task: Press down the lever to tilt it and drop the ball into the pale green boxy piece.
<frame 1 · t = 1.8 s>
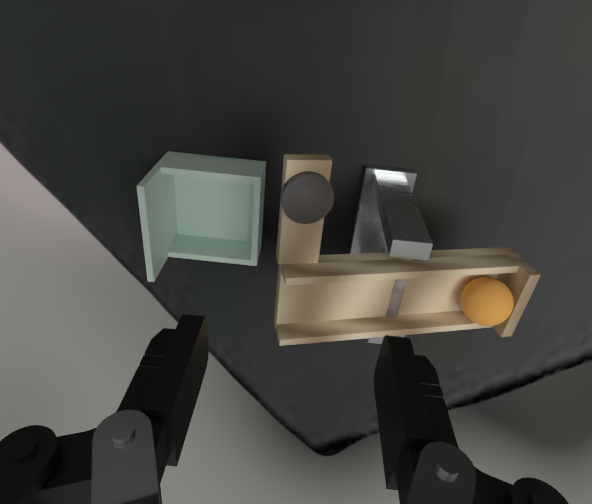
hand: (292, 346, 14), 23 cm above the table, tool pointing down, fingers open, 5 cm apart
fulcrum: (379, 217, 37), on the table
lever: (410, 257, 26), point 11 cm above the table, hinge at 15.0°, touching ball
ball: (486, 301, 28), point 10 cm above the table, tilted 11°, touching lever
pale green boxy piece: (217, 200, 37), on the table
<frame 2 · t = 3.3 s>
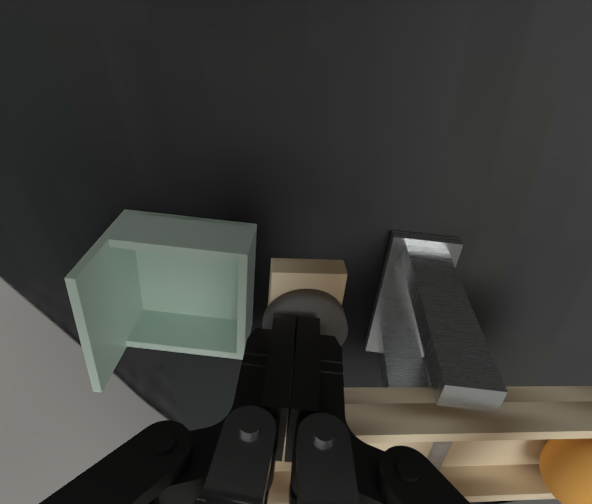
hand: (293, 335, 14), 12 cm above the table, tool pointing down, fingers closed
fulcrum: (408, 294, 28), on the table
lever: (467, 408, 17), point 11 cm above the table, hinge at 8.4°, touching ball, gripper
ball: (582, 471, 19), point 11 cm above the table, touching lever
pale green boxy piece: (193, 270, 28), on the table
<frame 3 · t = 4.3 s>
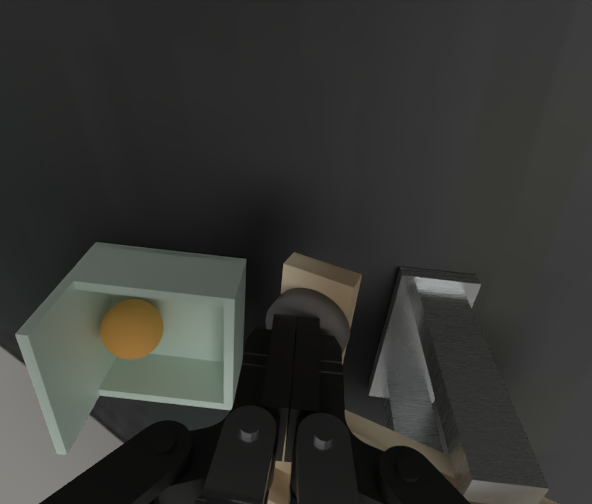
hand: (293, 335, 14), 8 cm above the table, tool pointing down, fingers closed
fulcrum: (416, 335, 25), on the table
lever: (480, 498, 14), point 11 cm above the table, hinge at -21.5°, touching gripper
ball: (132, 328, 23), point 2 cm above the table, tilted 154°, touching pale green boxy piece
pale green boxy piece: (175, 308, 25), on the table
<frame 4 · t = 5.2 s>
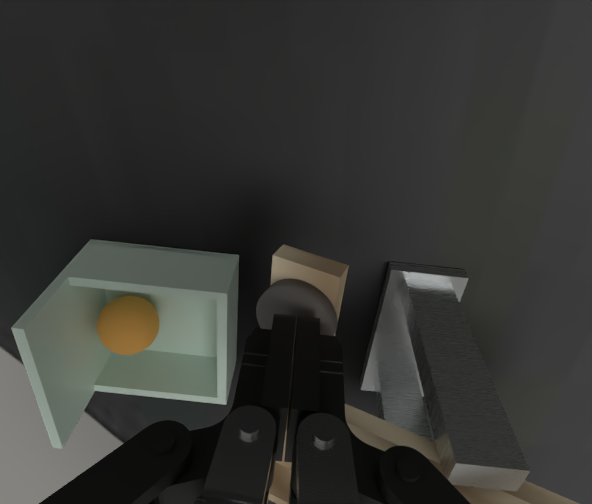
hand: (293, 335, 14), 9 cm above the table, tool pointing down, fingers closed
fulcrum: (407, 330, 25), on the table
lever: (464, 481, 14), point 11 cm above the table, hinge at -21.6°
ball: (128, 324, 24), point 2 cm above the table, tilted 150°, touching pale green boxy piece
pale green boxy piece: (169, 304, 25), on the table
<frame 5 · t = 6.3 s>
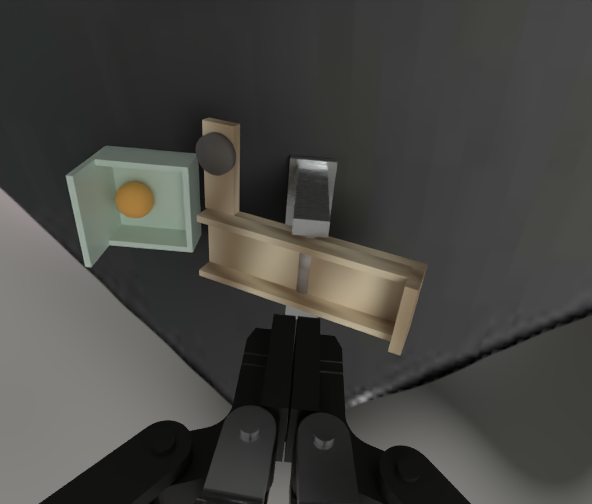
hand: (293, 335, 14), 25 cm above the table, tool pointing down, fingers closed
fulcrum: (308, 205, 40), on the table
lever: (301, 233, 29), point 11 cm above the table, hinge at -21.6°
ball: (134, 200, 38), point 2 cm above the table, tilted 136°, touching pale green boxy piece
pale green boxy piece: (156, 192, 40), on the table
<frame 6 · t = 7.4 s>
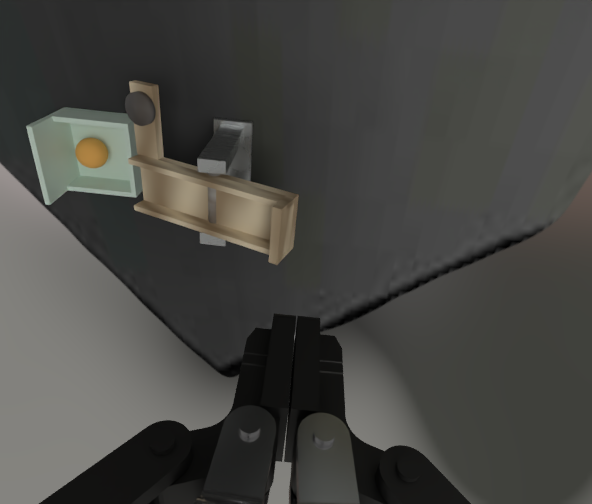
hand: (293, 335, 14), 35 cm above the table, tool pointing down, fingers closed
fulcrum: (233, 161, 48), on the table
lever: (204, 170, 37), point 11 cm above the table, hinge at -21.6°
ball: (92, 153, 46), point 2 cm above the table, tilted 121°, touching pale green boxy piece
pale green boxy piece: (107, 147, 48), on the table
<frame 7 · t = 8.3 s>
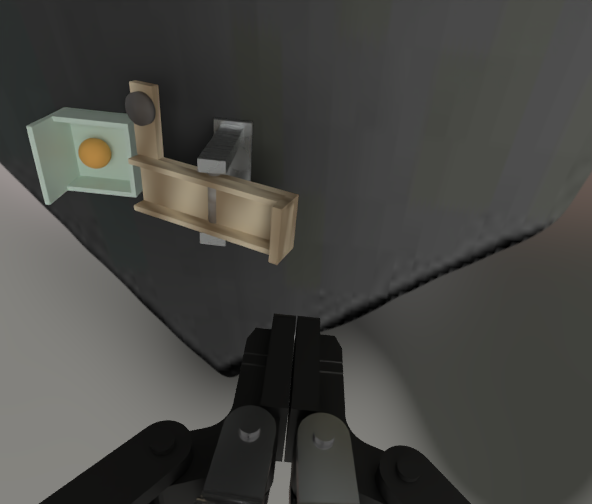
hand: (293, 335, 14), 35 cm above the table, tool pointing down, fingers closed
fulcrum: (233, 161, 48), on the table
lever: (204, 170, 37), point 11 cm above the table, hinge at -21.6°
ball: (95, 153, 46), point 2 cm above the table, tilted 110°, touching pale green boxy piece
pale green boxy piece: (107, 147, 48), on the table
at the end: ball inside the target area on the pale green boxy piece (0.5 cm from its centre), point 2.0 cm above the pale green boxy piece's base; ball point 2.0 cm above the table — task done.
